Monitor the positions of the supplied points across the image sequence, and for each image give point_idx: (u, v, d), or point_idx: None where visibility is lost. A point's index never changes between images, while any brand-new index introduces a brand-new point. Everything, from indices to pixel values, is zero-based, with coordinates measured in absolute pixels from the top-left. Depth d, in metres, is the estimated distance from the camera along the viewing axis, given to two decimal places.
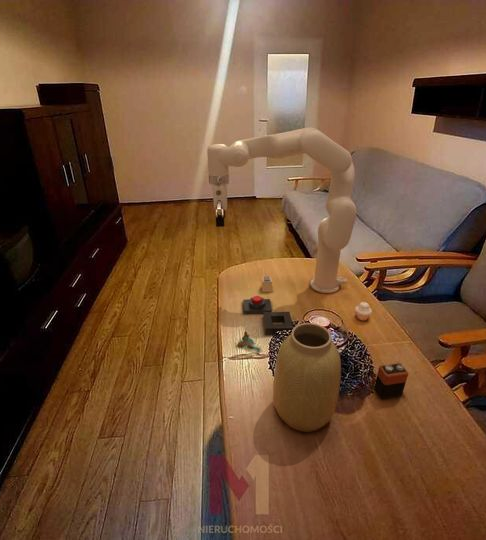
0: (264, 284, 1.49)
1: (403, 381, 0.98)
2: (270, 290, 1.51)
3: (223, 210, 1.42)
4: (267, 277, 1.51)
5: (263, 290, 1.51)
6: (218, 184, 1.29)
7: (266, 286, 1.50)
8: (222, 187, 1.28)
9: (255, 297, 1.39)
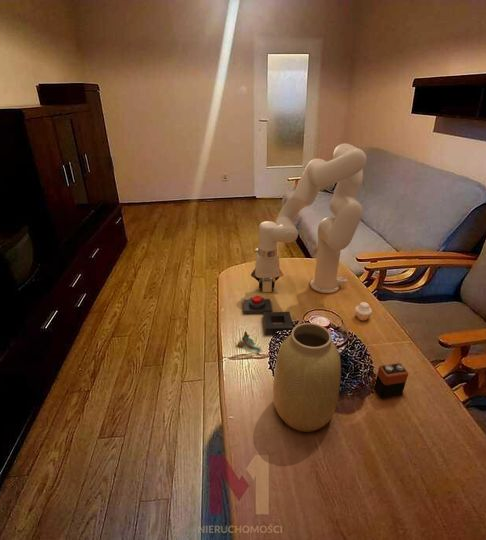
0: (264, 284, 1.49)
1: (403, 381, 0.98)
2: (270, 290, 1.51)
3: None
4: None
5: (263, 290, 1.51)
6: (258, 253, 1.44)
7: (266, 286, 1.50)
8: (257, 257, 1.44)
9: (255, 297, 1.39)
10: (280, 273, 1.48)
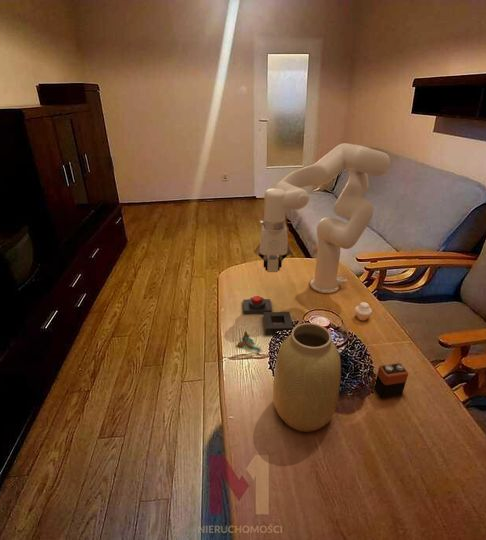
0: (269, 263, 1.30)
1: (403, 381, 0.98)
2: (276, 270, 1.31)
3: (278, 262, 1.31)
4: (273, 255, 1.31)
5: (268, 270, 1.31)
6: (264, 226, 1.25)
7: (271, 265, 1.30)
8: (261, 230, 1.24)
9: (255, 297, 1.39)
10: (288, 250, 1.29)
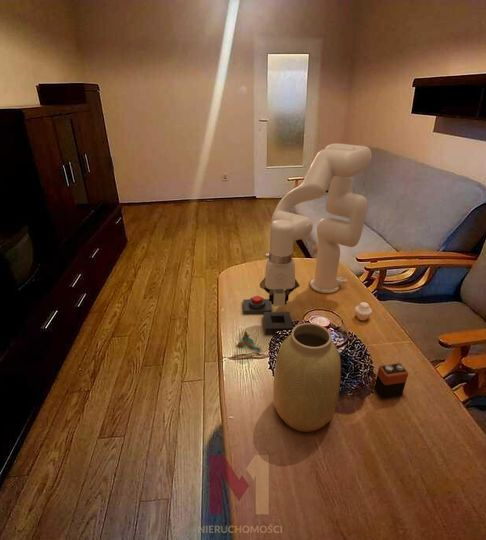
0: (276, 297, 1.21)
1: (403, 381, 0.98)
2: (283, 304, 1.23)
3: None
4: None
5: (274, 304, 1.23)
6: (269, 259, 1.16)
7: (278, 299, 1.22)
8: (267, 264, 1.16)
9: (255, 297, 1.39)
10: (296, 283, 1.21)
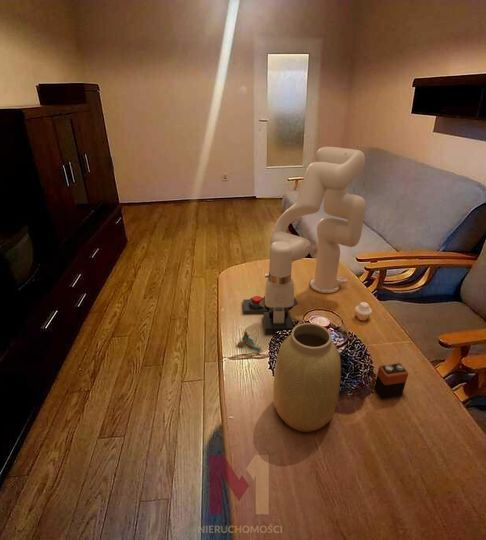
0: (275, 314, 1.25)
1: (403, 381, 0.98)
2: (282, 321, 1.27)
3: None
4: None
5: (274, 321, 1.27)
6: (269, 279, 1.20)
7: (277, 316, 1.26)
8: (267, 283, 1.20)
9: (255, 297, 1.39)
10: (294, 302, 1.24)
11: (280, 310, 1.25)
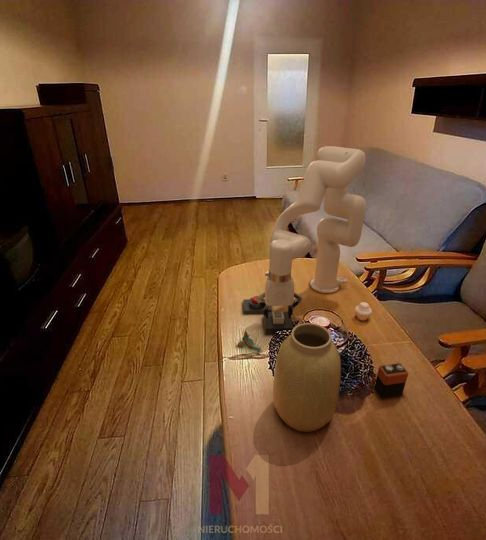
0: (275, 321, 1.27)
1: (403, 381, 0.98)
2: None
3: (289, 310, 1.25)
4: (278, 312, 1.28)
5: None
6: (269, 277, 1.20)
7: (277, 323, 1.27)
8: (267, 282, 1.19)
9: (255, 297, 1.39)
10: (298, 298, 1.24)
11: (280, 316, 1.26)
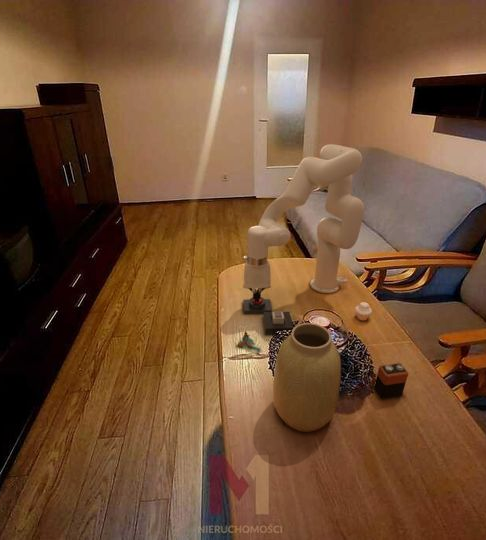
0: (275, 321, 1.27)
1: (403, 381, 0.98)
2: None
3: None
4: (278, 312, 1.28)
5: None
6: (247, 261, 1.30)
7: (277, 323, 1.27)
8: (245, 265, 1.29)
9: None
10: None
11: (280, 316, 1.26)
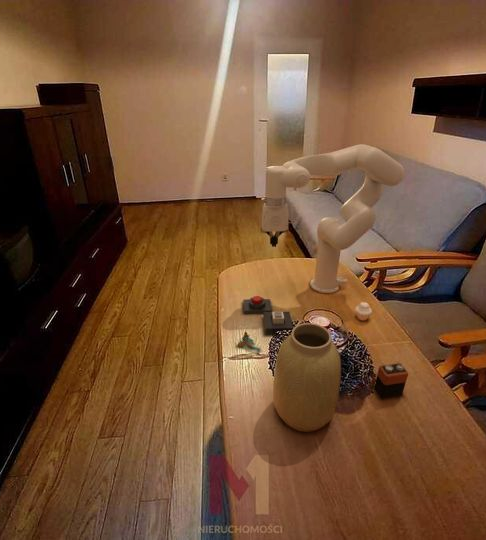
0: (275, 321, 1.27)
1: (403, 381, 0.98)
2: None
3: (274, 239, 1.36)
4: (278, 312, 1.28)
5: None
6: (265, 203, 1.30)
7: (277, 323, 1.27)
8: (263, 207, 1.29)
9: (255, 297, 1.39)
10: None
11: (280, 316, 1.26)
